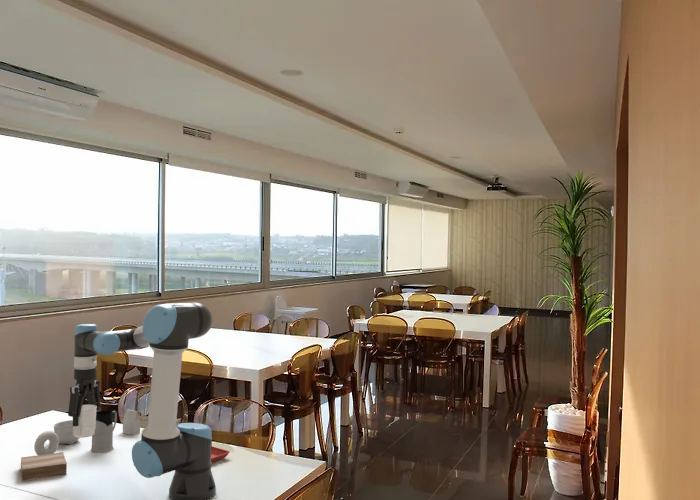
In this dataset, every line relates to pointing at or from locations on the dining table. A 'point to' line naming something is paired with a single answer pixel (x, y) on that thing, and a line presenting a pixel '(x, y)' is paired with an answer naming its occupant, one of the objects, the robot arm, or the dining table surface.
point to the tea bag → (131, 422)
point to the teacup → (65, 432)
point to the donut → (42, 439)
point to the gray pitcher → (103, 432)
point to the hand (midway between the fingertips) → (84, 431)
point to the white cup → (87, 421)
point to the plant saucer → (218, 454)
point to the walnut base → (43, 466)
